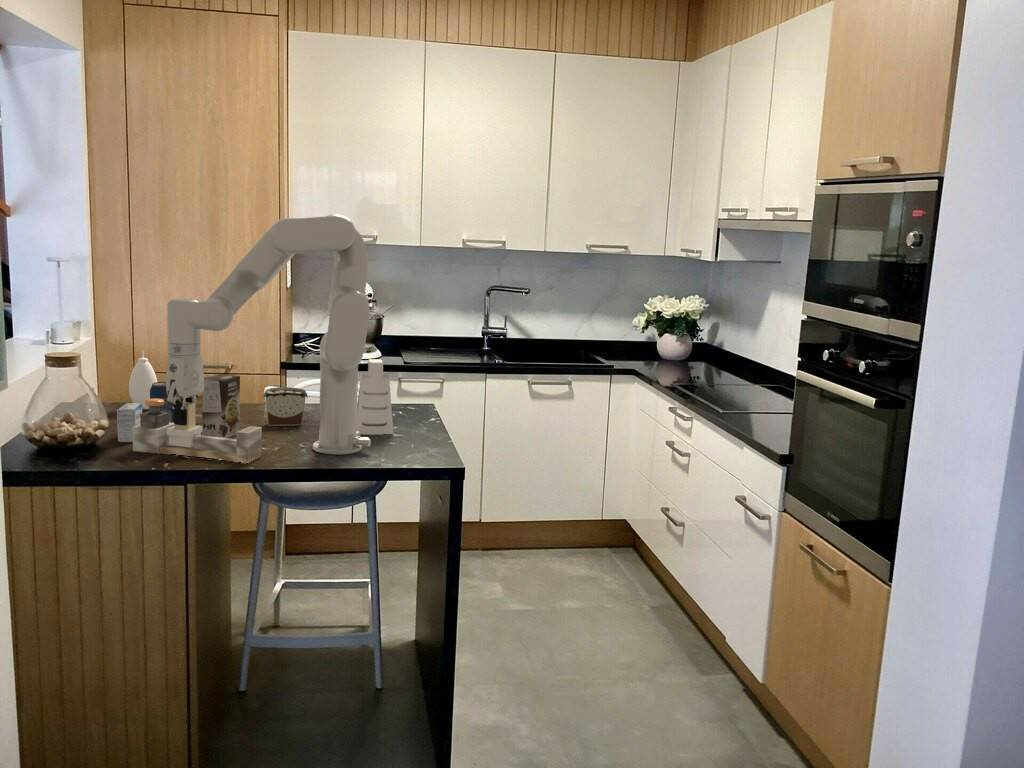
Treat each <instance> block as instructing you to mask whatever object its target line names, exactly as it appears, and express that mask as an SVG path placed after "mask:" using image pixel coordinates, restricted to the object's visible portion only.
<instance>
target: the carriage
mask: <svg viewBox="0 0 1024 768" xmlns="http://www.w3.org/2000/svg"><path fill="white" fill-rule="evenodd" d="M185 409H187V425H185V426H183V425H175V424H174V426H173V427H170V428H167V435H169V445H173V446H182V447H190V448H191V447H193V446H194V436H193V435H202V425H196V406H195V403H189V402H185Z"/></svg>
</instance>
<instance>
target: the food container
mask: <svg viewBox="0 0 1024 768" xmlns="http://www.w3.org/2000/svg"><path fill="white" fill-rule="evenodd" d="M262 398H263V399H264V398H265V406H266V416H267V417H266V418H267V425H268V427H270V426H272V427H273V426H277V427H278V426H279V427H280V426H281V427H282V426H284V427H285V426H302V425H303V422H304V411H305V405H306V398H307V399H308V398H309V397H308V393H307V390H305V389H303V388H299V387H290V386H288V387H287V386H282V387H271V388H270V387H269V388H268V389H265V390H264V392H263V397H262Z"/></svg>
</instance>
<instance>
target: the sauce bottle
mask: <svg viewBox="0 0 1024 768" xmlns="http://www.w3.org/2000/svg"><path fill="white" fill-rule="evenodd" d="M144 352H145V351H144V349H142V350H141V357H139V358H138V359H137V362H136V363H135V364H134V367H133V369H132V371H131V373H130V378H129V382H128V395H129V398H130V401H131V403H140V404H142V409H147V410H149V406H147V405H145V400H147V399H150V389H151V387H152V383H155V382H158V380H157V375H156V373H155V370H154V368H153V366H152V364H151V363H150V362H149V359H148V358H147V357H145V353H144Z"/></svg>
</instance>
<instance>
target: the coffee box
mask: <svg viewBox="0 0 1024 768" xmlns="http://www.w3.org/2000/svg"><path fill="white" fill-rule="evenodd" d="M201 396H202V403H201V404H202V413H201V414H202V415H201V416H202V417H201V418H202V419H201V421H202V423H201V424H202V425H201V426H202V432H201V435H203V436H212V437H221V438H229V437H230V438H232V437H231V436H233V437H235V436H236V432H238V431H240V430H241V429H240V428H241V427H240V425H241V424H240V422H241V418H240V417H241V414H240V413H241V412H240V411H241V410H240V409H241V407H240V406H241V398H240V397H241V375H235V374H234V375H233V374H220V373H218V374H216V375H213V376H212V375H211V376H209V377H208V376H207V377H204V391H203V392H202V395H201ZM234 435H235V436H234ZM230 438H229V439H230Z"/></svg>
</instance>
